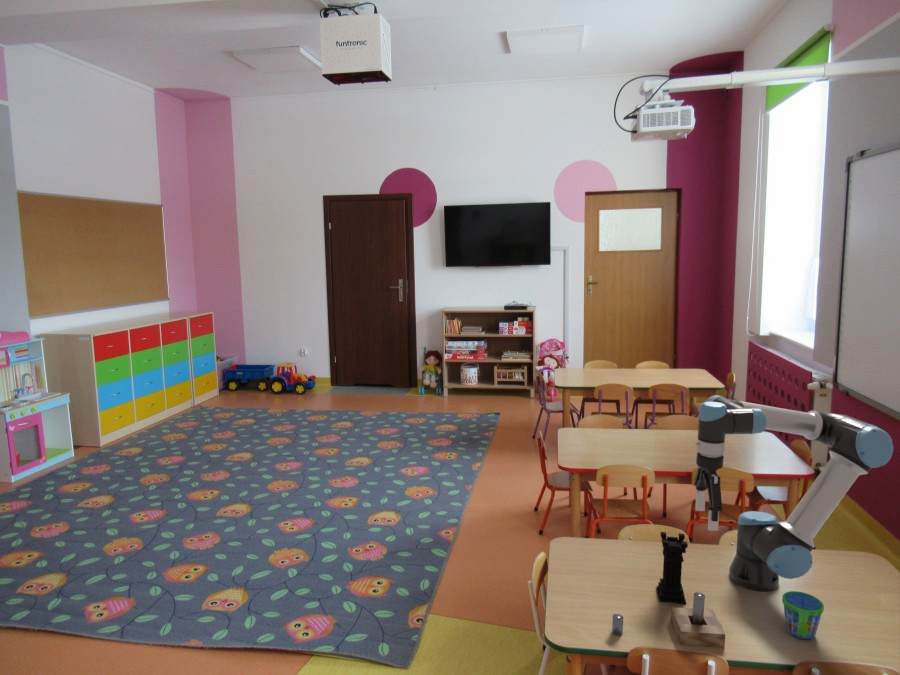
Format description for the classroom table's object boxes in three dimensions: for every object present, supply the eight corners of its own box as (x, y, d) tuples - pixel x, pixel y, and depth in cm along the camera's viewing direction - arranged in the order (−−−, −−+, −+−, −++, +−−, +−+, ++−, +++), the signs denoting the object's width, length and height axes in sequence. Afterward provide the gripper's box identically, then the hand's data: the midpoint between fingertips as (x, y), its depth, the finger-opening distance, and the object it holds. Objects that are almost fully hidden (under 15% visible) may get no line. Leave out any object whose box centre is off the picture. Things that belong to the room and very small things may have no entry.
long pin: (700, 630, 186) (703, 592, 184) (703, 636, 183) (706, 598, 181) (690, 629, 187) (692, 591, 185) (692, 635, 184) (695, 597, 182)
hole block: (711, 621, 190) (712, 609, 190) (724, 647, 178) (725, 634, 178) (670, 619, 191) (671, 607, 191) (680, 644, 180) (681, 631, 179)
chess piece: (685, 604, 199) (689, 545, 196) (659, 601, 201) (662, 542, 198) (681, 590, 207) (685, 533, 204) (656, 588, 209) (659, 531, 205)
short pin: (621, 629, 187) (622, 614, 186) (623, 635, 184) (624, 620, 183) (611, 629, 187) (611, 613, 186) (612, 635, 184) (613, 619, 183)
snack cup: (782, 613, 194) (785, 583, 192) (822, 624, 188) (825, 593, 187) (776, 640, 181) (779, 608, 179) (819, 653, 175) (822, 620, 174)
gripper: (686, 440, 203) (683, 502, 206) (709, 468, 178) (705, 538, 182) (710, 440, 202) (707, 503, 205) (737, 468, 178) (732, 539, 181)
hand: (706, 520), depth 194 cm, fingers open, 13 cm apart
